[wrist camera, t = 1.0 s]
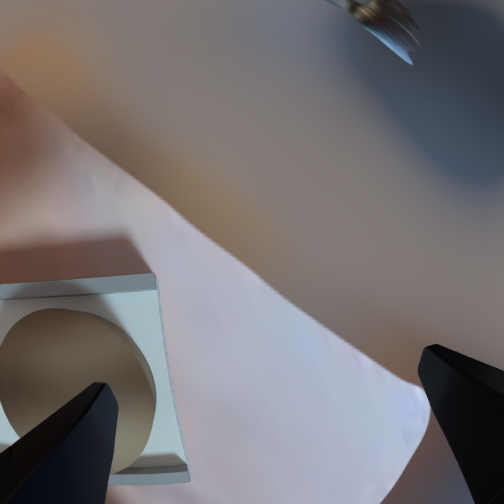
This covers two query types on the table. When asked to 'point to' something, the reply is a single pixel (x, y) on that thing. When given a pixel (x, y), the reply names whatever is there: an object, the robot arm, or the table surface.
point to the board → (146, 338)
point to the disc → (76, 374)
